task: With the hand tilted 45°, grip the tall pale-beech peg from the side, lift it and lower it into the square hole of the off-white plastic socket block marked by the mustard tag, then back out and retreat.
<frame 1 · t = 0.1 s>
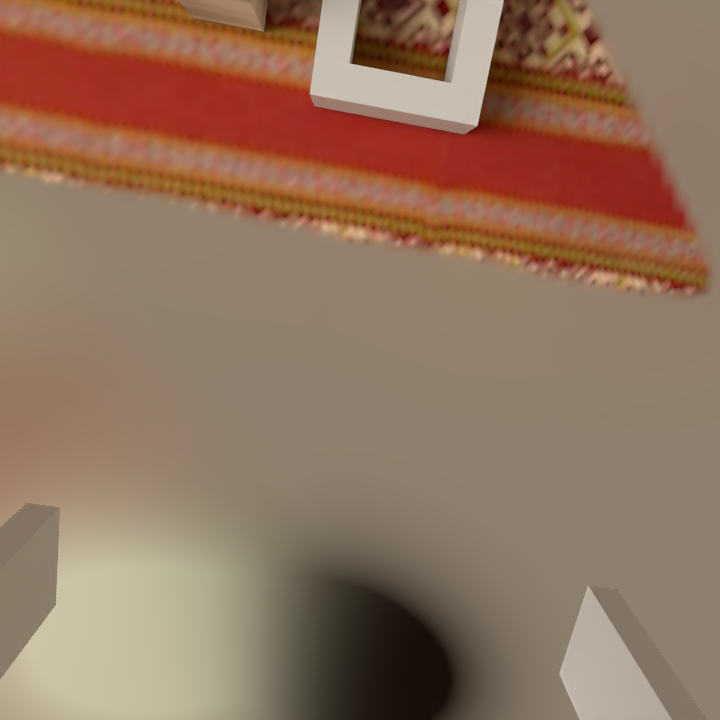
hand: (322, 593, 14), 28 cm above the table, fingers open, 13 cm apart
socket block: (404, 36, 36), on the table
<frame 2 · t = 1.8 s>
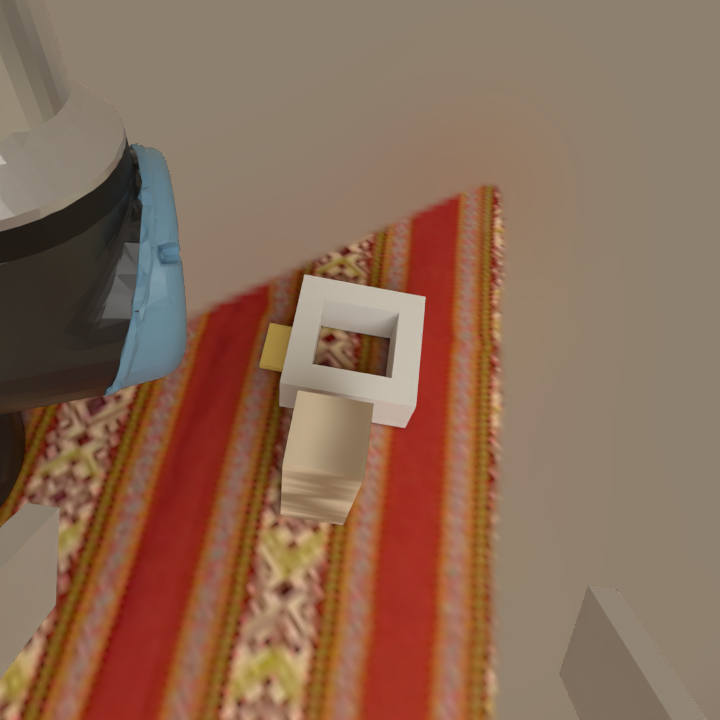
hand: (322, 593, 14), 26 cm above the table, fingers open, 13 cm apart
socket block: (351, 362, 47), on the table
beech peg: (317, 489, 41), on the table
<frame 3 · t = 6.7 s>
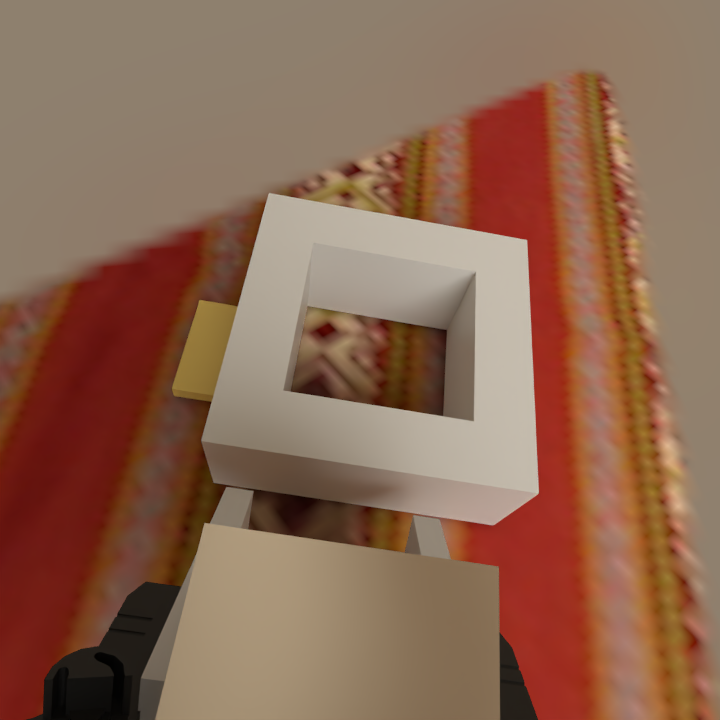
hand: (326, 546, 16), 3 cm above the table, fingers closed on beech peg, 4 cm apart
socket block: (370, 380, 22), on the table
beech peg: (298, 697, 17), on the table, touching gripper
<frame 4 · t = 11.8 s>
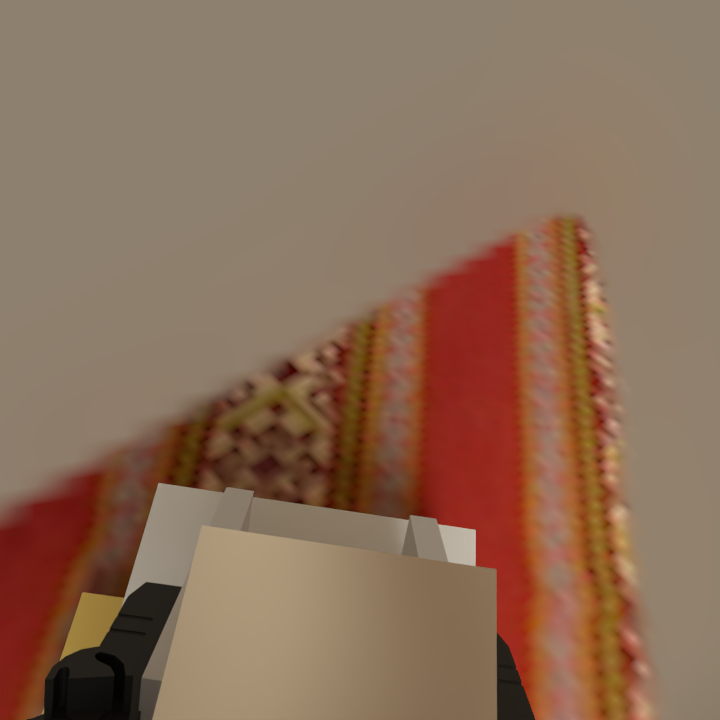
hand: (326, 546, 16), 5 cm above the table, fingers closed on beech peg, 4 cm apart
socket block: (288, 689, 19), on the table
beech peg: (298, 699, 17), point 2 cm above the table, touching gripper
when the fingers open (5 cm above the table, at t = 13.5 s): beech peg stays where it is, resting in socket block.
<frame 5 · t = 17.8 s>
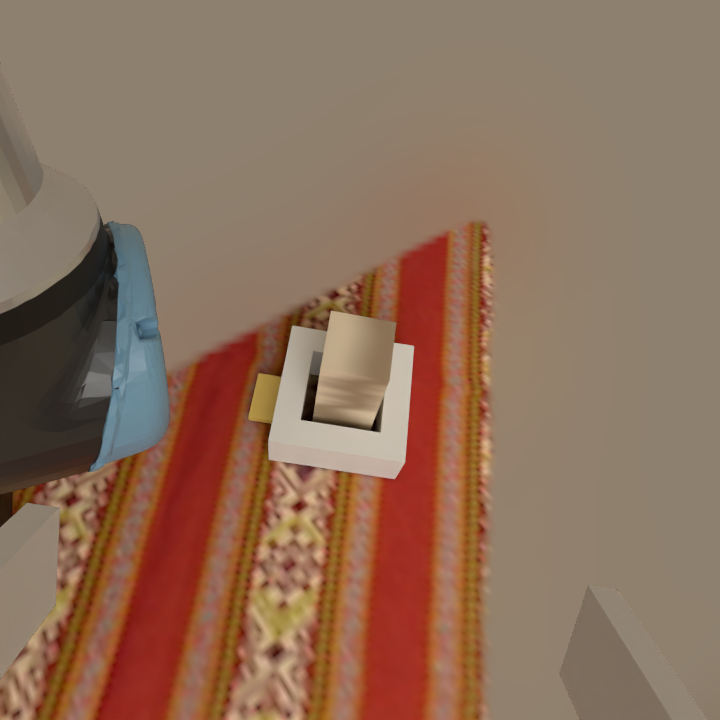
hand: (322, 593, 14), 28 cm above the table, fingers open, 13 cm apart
socket block: (340, 411, 47), on the table
beech peg: (342, 412, 47), resting in socket block
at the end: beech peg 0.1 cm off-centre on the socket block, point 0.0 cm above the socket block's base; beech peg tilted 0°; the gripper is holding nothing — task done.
